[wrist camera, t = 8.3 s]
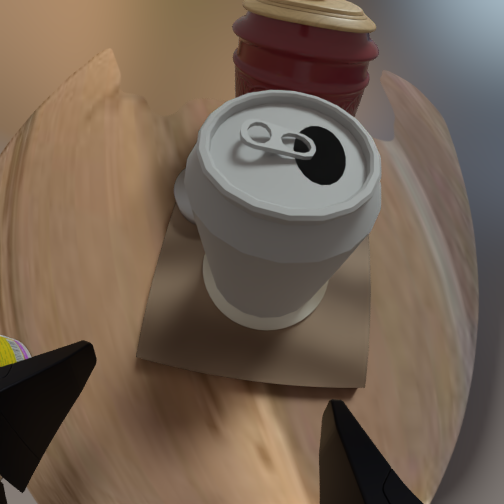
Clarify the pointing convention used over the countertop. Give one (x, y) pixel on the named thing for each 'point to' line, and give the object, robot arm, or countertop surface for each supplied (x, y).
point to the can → (281, 196)
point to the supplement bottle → (12, 351)
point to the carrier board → (253, 319)
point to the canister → (305, 49)
